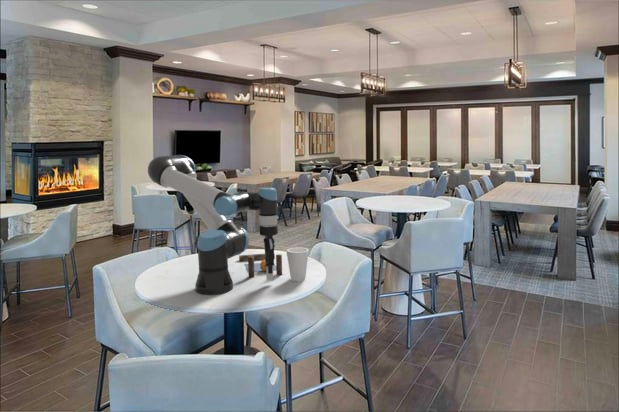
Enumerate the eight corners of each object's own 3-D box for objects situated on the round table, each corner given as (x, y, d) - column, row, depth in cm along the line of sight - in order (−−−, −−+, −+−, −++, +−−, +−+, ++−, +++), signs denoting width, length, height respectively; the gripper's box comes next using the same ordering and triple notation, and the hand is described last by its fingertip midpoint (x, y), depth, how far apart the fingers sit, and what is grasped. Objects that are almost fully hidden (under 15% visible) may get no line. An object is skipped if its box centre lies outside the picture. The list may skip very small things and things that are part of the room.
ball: (260, 259, 205) (259, 259, 211) (260, 271, 204) (259, 271, 210) (272, 259, 206) (271, 259, 212) (272, 271, 205) (271, 271, 211)
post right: (277, 275, 202) (276, 255, 200) (276, 273, 204) (275, 254, 203) (282, 274, 202) (282, 255, 201) (281, 273, 205) (281, 254, 203)
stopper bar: (239, 261, 226) (239, 256, 226) (239, 260, 228) (239, 255, 228) (274, 258, 231) (274, 253, 230) (274, 257, 233) (274, 252, 232)
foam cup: (306, 282, 191) (305, 253, 189) (285, 281, 192) (284, 252, 190) (310, 276, 200) (310, 247, 198) (290, 275, 202) (289, 247, 200)
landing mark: (248, 272, 207) (248, 272, 207) (245, 264, 220) (245, 264, 220) (278, 270, 210) (278, 269, 210) (273, 262, 223) (273, 261, 223)
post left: (248, 277, 199) (248, 258, 197) (248, 276, 201) (247, 256, 200) (254, 277, 199) (254, 257, 198) (254, 275, 202) (253, 256, 200)
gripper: (280, 227, 180) (281, 284, 183) (274, 221, 193) (276, 274, 196) (261, 228, 178) (263, 285, 182) (257, 222, 191) (259, 276, 194)
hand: (270, 280), depth 189 cm, fingers closed
